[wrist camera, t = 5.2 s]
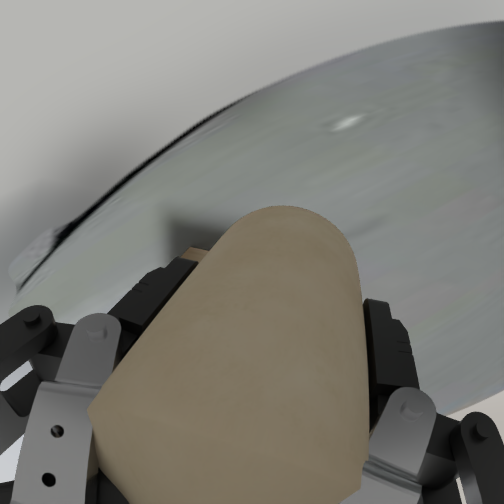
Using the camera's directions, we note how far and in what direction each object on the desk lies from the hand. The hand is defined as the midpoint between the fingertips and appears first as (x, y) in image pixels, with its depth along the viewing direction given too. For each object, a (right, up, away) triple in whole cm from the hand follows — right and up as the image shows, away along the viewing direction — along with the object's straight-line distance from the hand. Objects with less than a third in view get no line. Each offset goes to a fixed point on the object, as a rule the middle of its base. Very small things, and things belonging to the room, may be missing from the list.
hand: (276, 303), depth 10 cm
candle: (+1, +1, +2) cm, 2 cm away
